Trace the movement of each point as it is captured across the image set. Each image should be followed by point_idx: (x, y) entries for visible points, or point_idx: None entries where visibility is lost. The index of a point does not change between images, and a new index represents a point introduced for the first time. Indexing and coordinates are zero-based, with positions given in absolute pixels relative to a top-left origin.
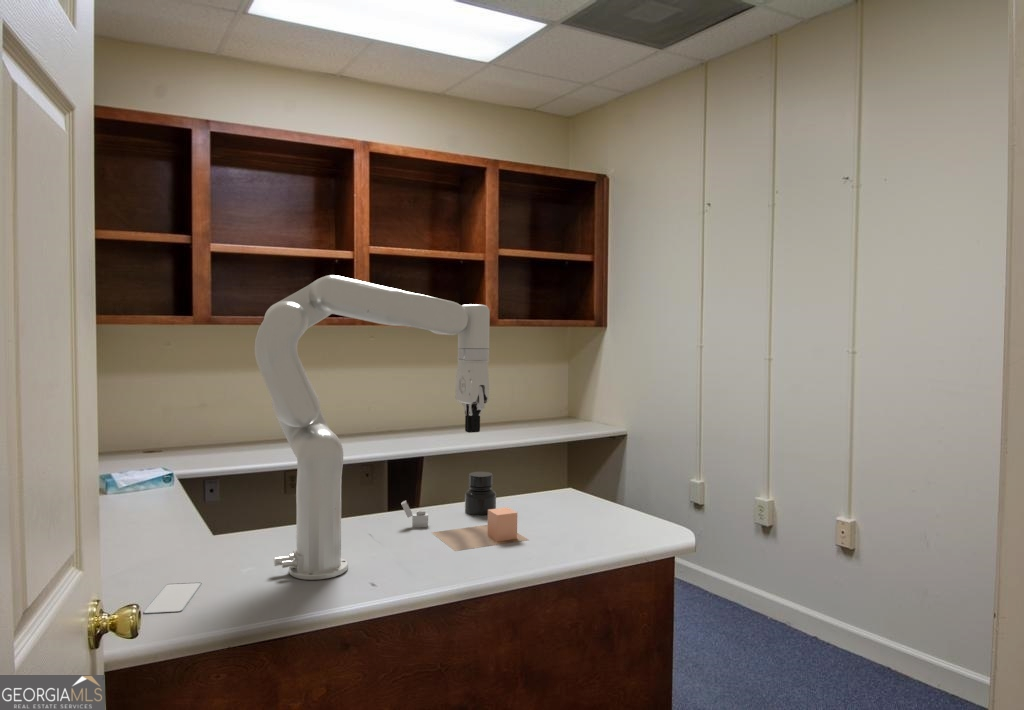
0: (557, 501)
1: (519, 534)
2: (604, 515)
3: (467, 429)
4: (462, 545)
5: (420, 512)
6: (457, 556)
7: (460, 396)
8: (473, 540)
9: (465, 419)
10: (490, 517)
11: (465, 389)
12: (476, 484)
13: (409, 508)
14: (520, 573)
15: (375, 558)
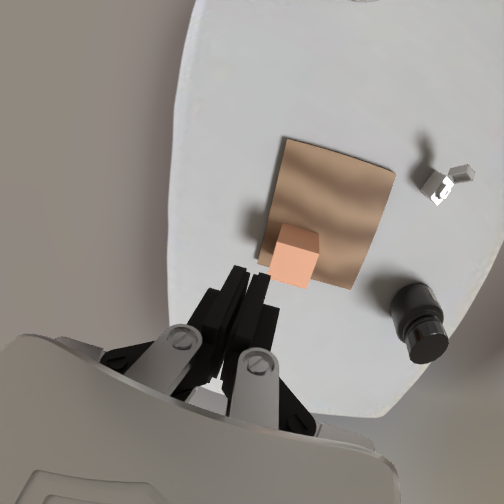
0: (364, 393)
1: None
2: None
3: (235, 271)
4: (302, 166)
5: (442, 190)
6: (284, 140)
7: (218, 475)
8: (312, 197)
9: (253, 317)
10: (307, 245)
11: (39, 485)
12: (423, 325)
13: (461, 181)
14: (173, 171)
15: (357, 41)
